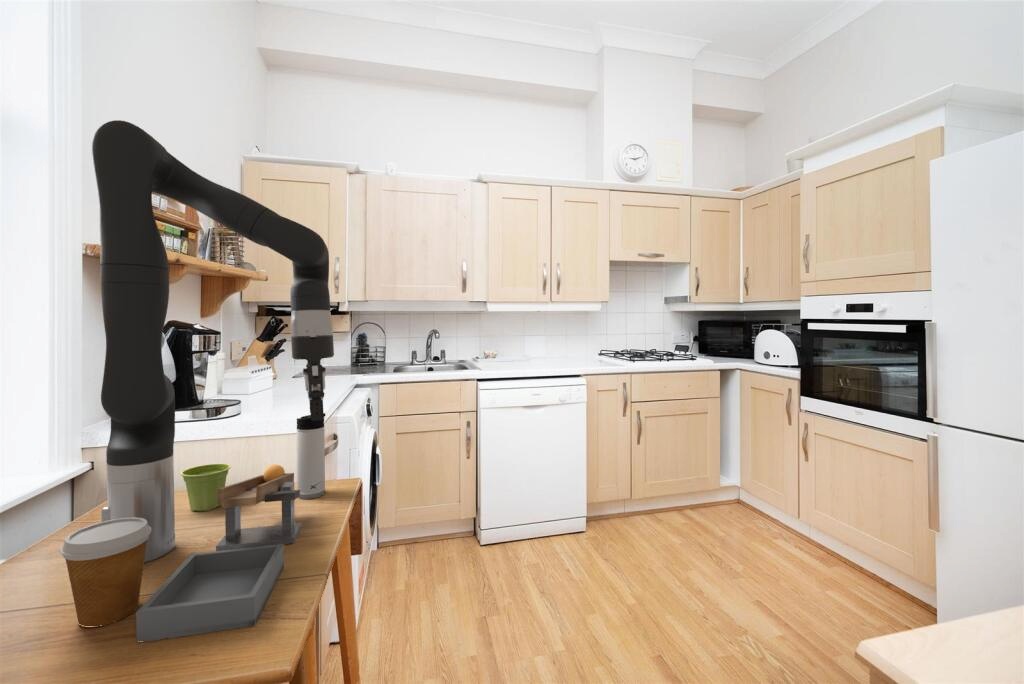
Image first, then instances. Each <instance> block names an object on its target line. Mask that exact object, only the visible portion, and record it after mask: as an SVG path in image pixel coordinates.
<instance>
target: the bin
mask: <svg viewBox="0 0 1024 684" xmlns="http://www.w3.org/2000/svg"><path fill="white" fill-rule="evenodd" d="M284 546H285V544H277V545H268V546H259V547H249V548H240V549H231V550H221V551H216V550H213V551H205V552H204V551H203V552H197V553H191V554H190V555H189V556H188V557H187V558H186V559H185V560H184V561H183V562H182V563H181V564H180V566H178V567H177V569H176V570H175V571H174V572H173V573H172V574H171V575H170V576H169V577H168V578H167V579H166V580H165V582H163V583H162V584H161V585H160V586H159V587H158V589H157V590H156V591H155V592H154V593H153V594H152V595H151V596H150V597H149V598H148V599H147V600H146V601H145V602H144V604H142V606H140V608H139V609H138V610H136V614H135V615H136V621H135V622H136V643H137V642H138V641H139V642H140V641H148V642H155V641H161V640H160V639H162V640H166V639H165V638H168V639H174V638H181V636H182V637H188V636H195V635H201V634H202V635H203V634H208V633H215V632H221V631H228V630H235V629H242V628H243V629H244V628H248V627H255V626H256V625H257V622H258V620H259V618H260V616H261V614H262V613H263V611H264V608H265V606H266V605H267V602H268V600H269V598H270V596H271V594H272V592H273V590H274V587H275V586H276V583H277V582H278V580H279V578H280V575H281V574H282V572H283V570H284V568H285V555H284V553H285V551H284ZM154 640H155V641H154Z"/></svg>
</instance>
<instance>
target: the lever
mask: <svg viewBox="0 0 1024 684" xmlns="http://www.w3.org/2000/svg"><path fill="white" fill-rule="evenodd" d="M294 480H295V472H288V473H286V472H285V475H284V476H281V477H279V478H276V479H274V480H271V481H269V482H266V481H265V479H264V474H261V475H258V476H253V477H251V478H248V479H245V480H241V481H238V482H235V483H232V484H230V485H227V486H226V485H225V487H223V488H220V489H218V497H217V504H222V505H221V506H222V508H225V507H234V506H240V507H243V506H245V507H246V506H256V505H258V504H260V503H262V502H264V503H271V502H282V501H286V500H294V501H295V500H296V499H298V497H300V490H297V489H294V490H290V491H282V486H283V485H284V483H285V482H294V483H295V481H294Z"/></svg>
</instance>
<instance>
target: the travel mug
mask: <svg viewBox="0 0 1024 684" xmlns="http://www.w3.org/2000/svg"><path fill="white" fill-rule="evenodd" d="M323 413H324V412H323ZM325 417H326V413H324V418H323V419H322V420H316V421H312V420H311V414H309V415H308V414H307V415H303V416H300V417H299V418H298V417H297V418H296V490H300V497H299V499H300V498H302V499H301V500H310V499H309V498H313V499H317V498H319V496H320V497H322V496H323V495H325V493H326V457H325V456H326V453H325V452H326V450H325V449H326V448H325V447H326V444H325V443H326V441H325V434H326V433H325ZM321 495H322V496H321ZM316 497H317V498H316Z"/></svg>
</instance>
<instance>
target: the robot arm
mask: <svg viewBox="0 0 1024 684" xmlns="http://www.w3.org/2000/svg"><path fill="white" fill-rule="evenodd" d="M91 155H92V156H91V157H92V162H93V169H94V175H95V181H96V188H97V194H98V195H97V196H98V204H99V238H100V239H99V242H100V257H99V258H100V260H99V261H100V263H99V264H100V266H99V269H100V275H99V276H100V292H101V306H102V308H101V309H102V316H103V317H102V318H103V325H104V326H103V327H104V333H105V346H106V347H105V359H104V366H103V367H104V368H103V375H102V385H101V391H100V401H101V402H100V403H101V407H102V409H103V410H104V411H105V414H106V415H108V417H109V418H110V434H109V439H108V444H107V447H106V459H105V460H106V489H107V490H106V491H107V493H106V494H107V495H106V496H107V503H106V504H107V505H106V506H104V507H103V508H102V509H101V511H100V520H101V521H100V522H104V521H108V520H113V519H120V518H132V517H136V518H143V519H146V521H147V522H148V526H149V527H151V533H150V534H149V537H148V539H147V544H146V552H145V559H144V563H147V562H150V561H153V560H156V559H159V558H160V557H163V556H165V555H167V554H169V553H170V552H171V551H172V550H173V549H174V548H175V545H176V529H175V528H176V526H175V523H176V522H175V519H176V518H175V469H174V468H175V466H174V461H175V460H174V445H175V437H176V436H175V435H176V434H175V433H176V396H175V395H176V394H175V388H174V387H175V386H174V385H173V382H172V380H171V379H170V378H169V377H168V376H167V375H166V374H165V371H164V363H163V362H164V361H163V353H162V352H163V351H162V339H163V332H164V327H165V322H166V318H167V313H168V307H169V299H170V266H169V265H170V264H169V258H168V254H167V250H166V247H165V243H164V241H163V238H162V235H161V232H160V230H159V226H158V224H157V221H156V218H155V213H154V210H153V201H152V200H153V194H152V193H155V194H158V195H161V196H163V197H165V198H169V199H171V200H174V201H176V202H179V203H181V204H182V205H184V206H187V207H189V208H192V209H193V210H195V211H197V212H199V213H201V214H203V215H204V216H205V217H208V218H210V219H211V220H213V221H214V222H216V223H218V224H219V225H220V226H223V227H225V228H227V229H229V230H230V231H232V232H233V233H236V234H238V235H239V236H241V237H243V238H245V239H247V240H249V241H251V242H253V243H254V244H258V246H262V247H265V248H268V249H270V250H272V251H274V252H276V253H277V254H280V255H281V256H283V257H285V258H286V259H288V260H290V261H291V263H292V264H291V265H292V279H293V282H292V284H291V286H290V295H289V296H290V311H291V312H290V313H291V315H290V339H291V357H292V359H293V360H297V361H298V360H306V365H305V367H306V368H302V371H303V379H304V383H305V386H304V387H305V390H306V392H307V397H308V402H309V413H310V415H311V420H312V421H316V420H322V419H323V418H324V419H325V417H324V398H325V392H324V390H325V389H326V379H325V378H326V367H325V366H323V365H322V364H321V361H322V359H328V358H329V359H331V358H333V357H334V355H335V349H334V332H333V331H334V327H333V326H334V324H333V319H332V314H331V299H330V296H331V295H330V291H329V290H330V289H329V276H330V254H329V249H328V246H327V245H326V242H325V241H324V239H323V237H321V235H320V234H319V233H317V232H316V231H314V230H313V229H311V228H309V227H307V226H305V225H304V224H301V223H298V222H296V221H294V220H292V219H289V218H287V217H285V216H282V215H281V214H278V213H277V212H275V211H274V210H272V209H270V208H269V207H267V206H265V205H263V204H261V203H260V202H258V201H257V200H254V199H252V198H250V197H248V196H246V195H245V194H242V193H239V192H238V191H235V190H234V189H231V188H228V187H226V186H223V185H222V184H218V183H217V182H214V181H212V180H210V179H208V178H206V177H205V176H202V175H201V174H199V173H198V172H196V171H194V170H193V169H191V168H190V167H188V165H185V164H184V163H183V162H181V161H180V160H179V159H178V158H177V157H175V156H173V155H172V154H171V153H170V152H169V151H168V150H167V149H166V148H165V146H163V145H162V144H161V143H160V142H159V141H158V140H156V139H155V138H154V137H153V136H152V135H151V134H149V133H147V131H145V130H144V129H143V128H141V127H140V126H138V125H136V124H133V123H131V122H129V121H125V120H118V119H117V120H110V121H107V122H105V123H103V124H102V125H101V126H100V127H98V128H97V129H96V131H95V132H94V135H93V136H92V142H91Z"/></svg>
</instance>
